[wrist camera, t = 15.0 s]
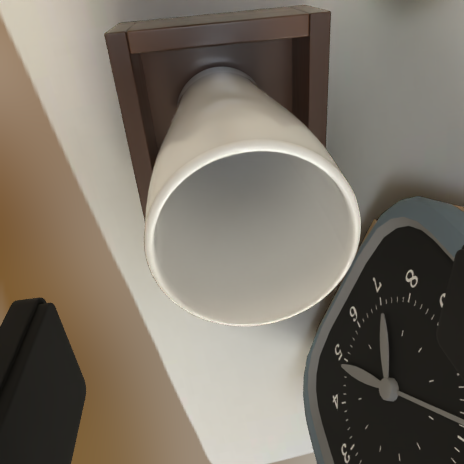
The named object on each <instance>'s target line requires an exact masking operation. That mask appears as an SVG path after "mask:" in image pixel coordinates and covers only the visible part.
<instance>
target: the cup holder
mask: <svg viewBox="0 0 464 464" xmlns="http://www.w3.org/2000/svg"><path fill="white" fill-rule="evenodd" d="M330 22H331V12H330V11H327V10H323V9H319V8H315V7H312V6H307V5H300V6H290V7H280V8H269V9H259V10H249V11H238V12H228V13H218V14H207V15H197V16H187V17H176V18H166V19H156V20H145V21H135V22H125V23H119V24H117V25H116V26H115V27H113V28H112V29H110V30H109V31H108V32H106V33H105V34H104V36H105V40H106V45H107V49H108V54H109V59H110V63H111V68H112V72H113V77H114V82H115V86H116V91H117V95H118V100H119V105H120V109H121V114H122V118H123V123H124V128H125V132H126V137H127V142H128V146H129V151H130V155H131V160H132V165H133V169H134V174H135V178H136V183H137V188H138V192H139V197H140V201H141V206H142V211H143V215H144V220H145V217H146V205H147V197H148V190H149V184H150V179H151V175H152V171H153V167H154V163H155V160H156V157H157V154H158V152H159V149H160V146H161V144H162V141H163V139H164V137H165V134H166V132H167V130H168V127H169V125H170V123H171V120H172V118H173V116H174V113H175V111H176V105H177V101H178V97H179V95H180V93H181V91H182V89H183V87H184V86H185V85H186V83H187V82H188V81H189V80H190V79H191V78H192V77H193V76H195V75H196V74H198V73H199V72H201V71H203V70H206V69H209V68H212V67H231V68H235V69H238V70H240V71H242V72H244V73H246V74H247V75H248V76H250V77H251V78H252V79H253V80H254V81H255V82H256V83H257V84H258V86H259V87H260V88H261V89H262V90H263V91H265V92H266V93H267V94H268V95H270V96H271V97H272V98H273V99H275V100H276V101H277V102H279V103H280V104H281V105H283V106H284V107H285V108H286V109H288V110H289V111H290V112H291V113H293V114H294V115H295V116H296V117H297V118H298V119H299V120H301V121H302V122H303V123H304V124H305V125H306V126H307V127H308V128H309V129H310V130H311V131H312V133H313V134H314V135H315V136H316V137H317V138H318V140H319V141H320V142H321V143H322V144H323V146H324V147H325V148H326V126H327V100H328V74H329V48H330Z"/></svg>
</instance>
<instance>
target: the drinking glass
mask: <svg viewBox="0 0 464 464" xmlns="http://www.w3.org/2000/svg"><path fill="white" fill-rule="evenodd" d="M360 233H361V218H360V211H359V206H358V202H357V200H356V197H355V194H354V192H353V190H352V188H351V186H350V184H349V183H348V181H347V180H346V179H345V177H344V175H343V174H342V172H341V170H340V169H339V167H338V166H337V164H336V163H335V161H334V160H333V158H332V157H331V155H330V154H329V152H328V151H327V150H326V148H325V147H324V146H323V144H322V143H321V142H320V141H319V140H318V138H317V137H316V136H315V135H314V134H313V133H312V131H311V130H310V129H309V128H308V127H307V126H306V125H305V124H304V123H303V122H302V121H301V120H299V119H298V118H297V117H296V116H295V115H294V114H293V113H291V112H290V111H289V110H288V109H286V108H285V107H284V106H283V105H281V104H280V103H279V102H277V101H276V100H275V99H273V98H272V97H271V96H270V95H268V94H267V93H266V92H265V91H263V90H262V89H261V88H260V87H259V86H258V84H257V83H256V82H255V81H254V80H253V79H252V78H251V77H250V76H248V75H247V74H246V73H244V72H242V71H240V70H238V69H235V68H231V67H212V68H209V69H206V70H203V71H201V72H199V73H198V74H196V75H195V76H193V77H192V78H191V79H190V80H189V81H188V82H187V83H186V85H185V86H184V87H183V89H182V91H181V93H180V95H179V97H178V101H177V105H176V111H175V113H174V116H173V118H172V120H171V123H170V125H169V127H168V130H167V132H166V134H165V137H164V139H163V141H162V144H161V146H160V149H159V152H158V154H157V157H156V160H155V163H154V167H153V171H152V175H151V179H150V184H149V190H148V197H147V205H146V217H145V231H144V248H145V255H146V259H147V263H148V266H149V269H150V271H151V273H152V275H153V278H154V279H155V281H156V283H157V284H158V286H159V287H160V288H161V290H162V291H163V292H164V293H165V294H166V295H167V296H168V297H169V299H171V300H172V301H173V302H174V303H175V304H176V305H178V306H179V307H181V308H182V309H184V310H185V311H187V312H189V313H190V314H192V315H195V316H197V317H199V318H201V319H204V320H207V321H210V322H214V323H218V324H223V325H231V326H257V325H265V324H270V323H274V322H278V321H282V320H285V319H288V318H290V317H293V316H295V315H298V314H300V313H302V312H303V311H305V310H307V309H309V308H311V307H312V306H314V305H315V304H317V303H318V302H319V301H321V300H322V299H323V298H325V297H326V296H327V295H328V294H329V293H330V292H331V291H332V290H333V289H334V288H335V287H336V286H337V285H338V284H339V282H340V281H341V280H342V279H343V277H344V276H345V274H346V273H347V271H348V270H349V268H350V266H351V264H352V262H353V260H354V258H355V255H356V252H357V249H358V245H359V241H360Z"/></svg>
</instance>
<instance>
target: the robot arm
mask: <svg viewBox="0 0 464 464" xmlns="http://www.w3.org/2000/svg"><path fill="white" fill-rule="evenodd" d="M436 337H437V341H438V344H439V346H440V348H441V349H442V350H443V352H444V353H445V355H446V356H447V358H448V359H449V360H450V362H451V363H452V365H453V366H454V368H455V369H456V371H457V372H458V373H459V375H460V376H461V378H462V379H463V381H464V245H463V246H462V249H461V250H458V251H457V252H456V254H455V258H454V262H453V266H452V270H451V274H450V278H449V282H448V286H447V290H446V294H445V298H444V302H443V306H442V310H441V314H440V319H439V323H438V327H437V331H436ZM85 396H86V385H85V380H84V378H83V375H82V373H81V370H80V368H79V365H78V363H77V360H76V358H75V355H74V353H73V350H72V348H71V345H70V343H69V340H68V338H67V335H66V333H65V331H64V328H63V325H62V323H61V320H60V318H59V315H58V313H57V310H56V308H55V306H54V304H53V303H46V301H45V300H44V299H43V298H33V299H25V300H18V301H15V302H13V303H12V305H11V307H10V308H9V310H8V312H7V314H6V316H5V318H4V320H3V323H2V325H1V326H0V464H71V461H72V456H73V452H74V447H75V442H76V438H77V433H78V429H79V424H80V419H81V415H82V410H83V406H84V401H85Z"/></svg>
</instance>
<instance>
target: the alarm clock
mask: <svg viewBox="0 0 464 464" xmlns="http://www.w3.org/2000/svg"><path fill="white" fill-rule="evenodd" d="M463 245H464V207H461V206H457V205H453V204H449V203H445V202H440V201H436V200H432V199H428V198H424V197H420V196H418V197H412V198H407V199H403V200H400V201H398V202H397V203H396V204H394V205H393V206H392V207H390V208H389V209H388V210H386V211H385V212H384V213H383V214H382V215H381V216H380V217H379V219H378V220H375V219H374V220H373V222H372V224H371V226H370V228H369V230H368V232H367V234H366V236H365V238H364V240H363V242H362V244H361V245H360V247H359V249H358V251H357V253H356V255H355V258H354V260H353V262H352V264H351V266H350V268H349V270H348V271H347V273H346V275H345V277H344V279H343V280H342V282H341V284H340V286H339V288H338V290H337V292H336V294H335V296H334V298H333V300H332V302H331V304H330V306H329V308H328V310H327V312H326V313H325V315H324V317H323V319H322V321H321V323H320V325H319V327H318V329H317V333H316V336H315V338H314V341H313V343H312V346H311V348H310V351H309V354H308V356H307V361H306V367H305V373H304V385H303V398H304V407H305V416H306V421H307V425H308V430H309V435H310V438H311V442H312V446H313V450H314V454H315V457H316V461H317V464H464V381H463V379H462V378H461V376H460V375H459V373H458V372H457V371H456V369H455V368H454V366H453V365H452V363H451V362H450V360H449V359H448V358H447V356H446V355H445V353H444V352H443V350H442V349H441V348H440V346H439V344H438V341H437V337H436V331H437V327H438V323H439V319H440V314H441V310H442V306H443V302H444V298H445V294H446V290H447V286H448V282H449V278H450V274H451V270H452V266H453V262H454V258H455V254H456V252H457V251H458V250H461V249H462V246H463Z"/></svg>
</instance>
